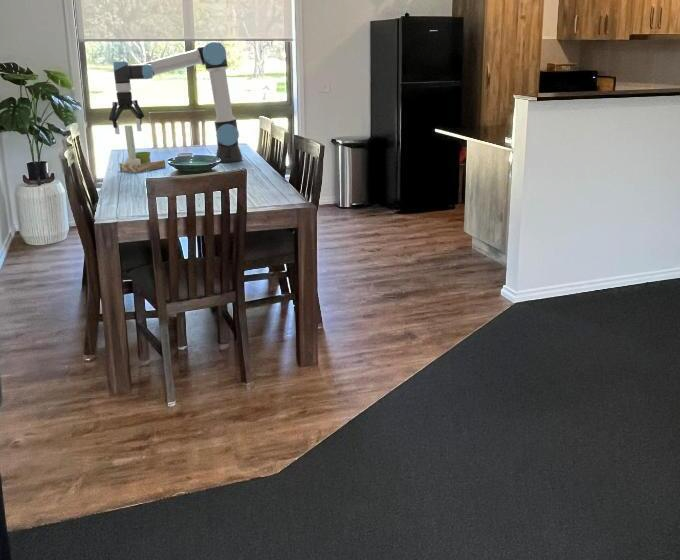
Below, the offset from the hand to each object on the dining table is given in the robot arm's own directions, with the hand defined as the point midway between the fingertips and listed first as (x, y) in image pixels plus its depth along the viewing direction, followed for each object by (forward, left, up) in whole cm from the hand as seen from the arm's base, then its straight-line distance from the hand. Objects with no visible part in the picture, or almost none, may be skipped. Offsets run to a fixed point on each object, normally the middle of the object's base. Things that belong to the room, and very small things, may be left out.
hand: (128, 132), depth 392 cm
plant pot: (0, -7, -21) cm, 22 cm away
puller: (0, -1, -20) cm, 20 cm away
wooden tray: (0, -7, -20) cm, 21 cm away
